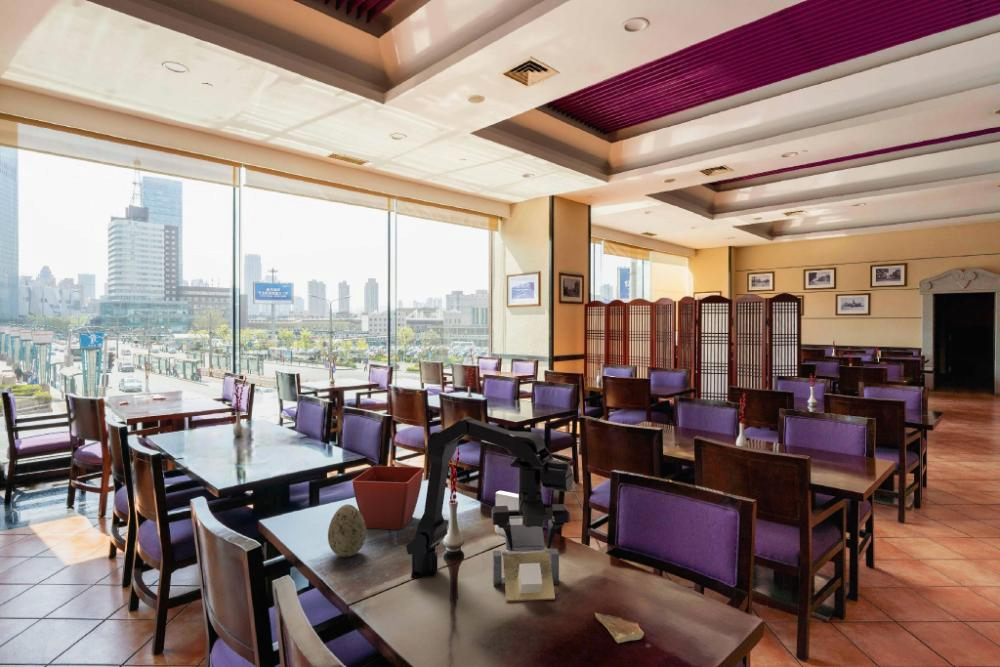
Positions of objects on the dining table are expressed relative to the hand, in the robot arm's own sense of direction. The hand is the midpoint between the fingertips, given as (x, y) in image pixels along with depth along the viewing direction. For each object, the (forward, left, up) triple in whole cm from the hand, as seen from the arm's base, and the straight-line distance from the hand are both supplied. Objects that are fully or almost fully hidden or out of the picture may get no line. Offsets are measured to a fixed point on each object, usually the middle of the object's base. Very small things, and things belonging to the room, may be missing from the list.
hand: (530, 548), depth 128 cm
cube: (0, +2, -9) cm, 9 cm away
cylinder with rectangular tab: (-1, +43, -13) cm, 45 cm away
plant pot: (-41, +53, -13) cm, 68 cm away
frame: (0, +8, -12) cm, 15 cm away
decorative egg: (-50, +28, -13) cm, 59 cm away
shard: (+17, -15, -13) cm, 26 cm away
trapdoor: (0, +7, -7) cm, 10 cm away
